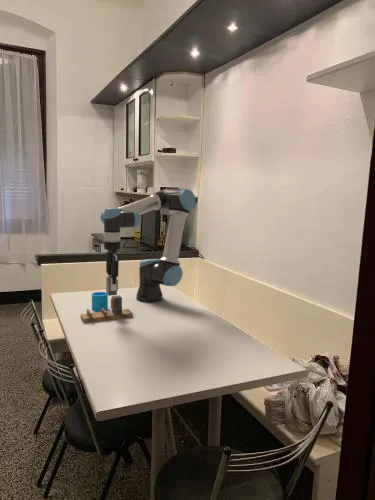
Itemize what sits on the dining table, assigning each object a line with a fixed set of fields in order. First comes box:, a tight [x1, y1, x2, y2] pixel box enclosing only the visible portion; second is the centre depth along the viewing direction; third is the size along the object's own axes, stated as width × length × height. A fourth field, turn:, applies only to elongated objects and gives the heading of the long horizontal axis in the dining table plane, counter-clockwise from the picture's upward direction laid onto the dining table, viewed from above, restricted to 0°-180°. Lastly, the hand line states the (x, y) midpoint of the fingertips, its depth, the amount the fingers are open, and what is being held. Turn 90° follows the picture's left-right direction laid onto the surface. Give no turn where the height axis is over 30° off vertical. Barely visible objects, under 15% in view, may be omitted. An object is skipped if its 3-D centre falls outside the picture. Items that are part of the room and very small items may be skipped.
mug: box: [91, 291, 109, 312], centre depth 206 cm, size 12×8×8 cm
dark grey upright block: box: [105, 276, 119, 297], centre depth 187 cm, size 5×4×8 cm
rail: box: [80, 295, 134, 324], centre depth 191 cm, size 24×7×10 cm, turn 116°
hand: (112, 289), depth 187 cm, fingers closed on dark grey upright block, 4 cm apart
